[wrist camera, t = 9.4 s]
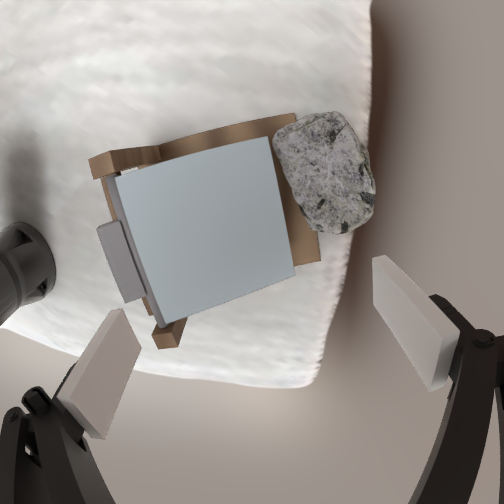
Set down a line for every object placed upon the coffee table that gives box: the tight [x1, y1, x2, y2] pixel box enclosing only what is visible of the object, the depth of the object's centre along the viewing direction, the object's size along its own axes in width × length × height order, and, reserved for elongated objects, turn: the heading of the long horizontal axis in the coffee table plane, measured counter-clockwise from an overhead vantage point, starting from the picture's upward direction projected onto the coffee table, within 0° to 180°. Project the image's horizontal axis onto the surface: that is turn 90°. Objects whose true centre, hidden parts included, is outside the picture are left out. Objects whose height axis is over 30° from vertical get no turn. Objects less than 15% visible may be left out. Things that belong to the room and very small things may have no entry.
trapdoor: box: [96, 136, 295, 328], centre depth 30 cm, size 19×17×2 cm
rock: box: [272, 111, 376, 234], centre depth 35 cm, size 15×10×7 cm
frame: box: [88, 113, 321, 349], centre depth 33 cm, size 22×21×15 cm
